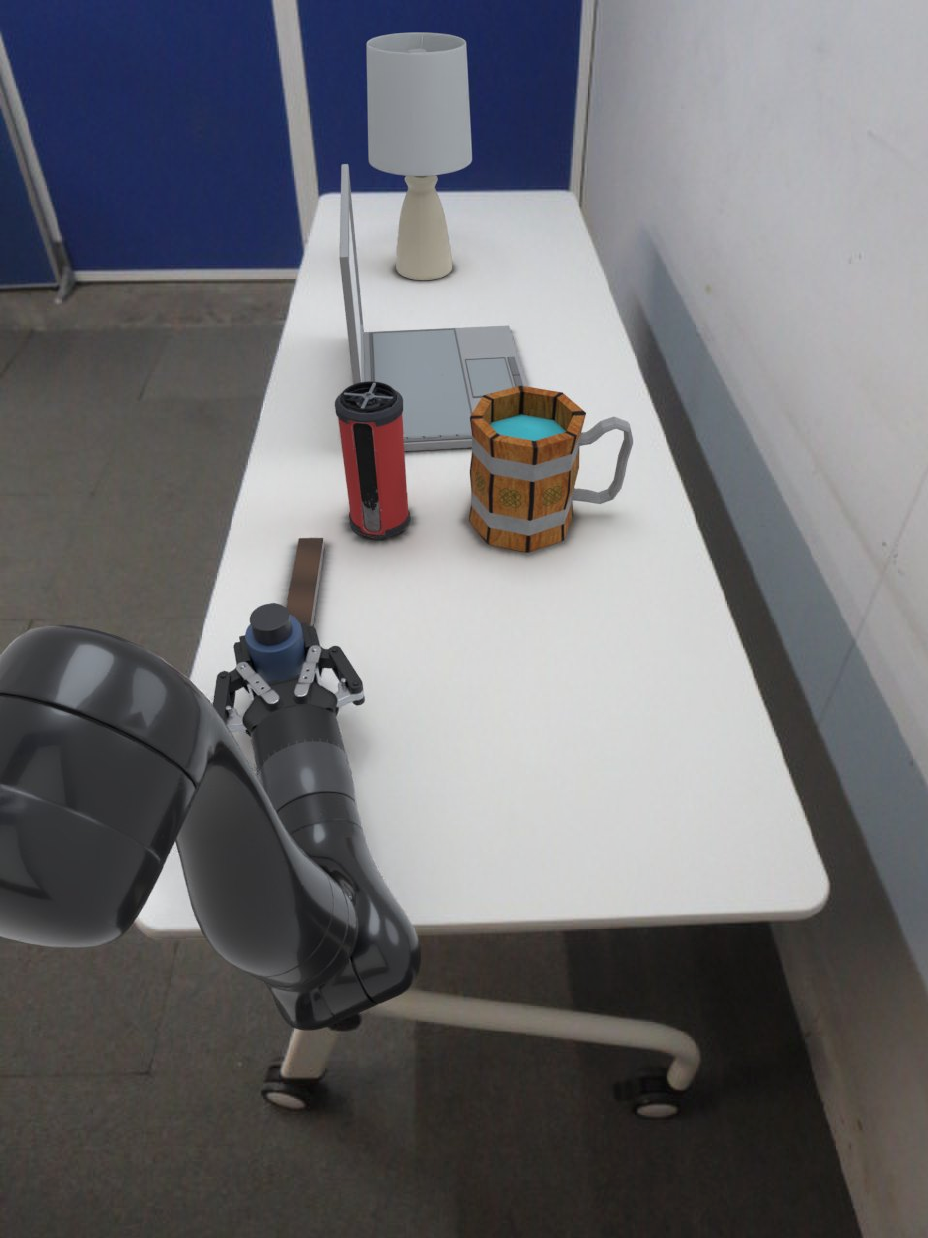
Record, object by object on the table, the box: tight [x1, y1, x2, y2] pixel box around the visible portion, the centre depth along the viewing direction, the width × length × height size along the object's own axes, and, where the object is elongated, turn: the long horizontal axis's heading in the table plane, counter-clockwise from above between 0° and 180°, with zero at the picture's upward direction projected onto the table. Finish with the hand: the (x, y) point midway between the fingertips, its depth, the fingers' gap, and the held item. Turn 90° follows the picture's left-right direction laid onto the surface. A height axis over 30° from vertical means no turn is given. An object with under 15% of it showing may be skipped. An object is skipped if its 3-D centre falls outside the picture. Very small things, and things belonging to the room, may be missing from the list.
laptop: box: [338, 163, 529, 452], centre depth 116 cm, size 35×26×27 cm
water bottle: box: [244, 602, 307, 683], centre depth 78 cm, size 5×5×12 cm
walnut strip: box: [285, 537, 326, 626], centre depth 92 cm, size 18×3×2 cm, turn 2°
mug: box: [468, 386, 634, 553], centre depth 98 cm, size 20×14×15 cm
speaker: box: [334, 381, 411, 539], centre depth 96 cm, size 8×8×18 cm
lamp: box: [366, 32, 473, 281], centre depth 145 cm, size 19×19×37 cm
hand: (274, 635), depth 79 cm, fingers closed on water bottle, 5 cm apart
